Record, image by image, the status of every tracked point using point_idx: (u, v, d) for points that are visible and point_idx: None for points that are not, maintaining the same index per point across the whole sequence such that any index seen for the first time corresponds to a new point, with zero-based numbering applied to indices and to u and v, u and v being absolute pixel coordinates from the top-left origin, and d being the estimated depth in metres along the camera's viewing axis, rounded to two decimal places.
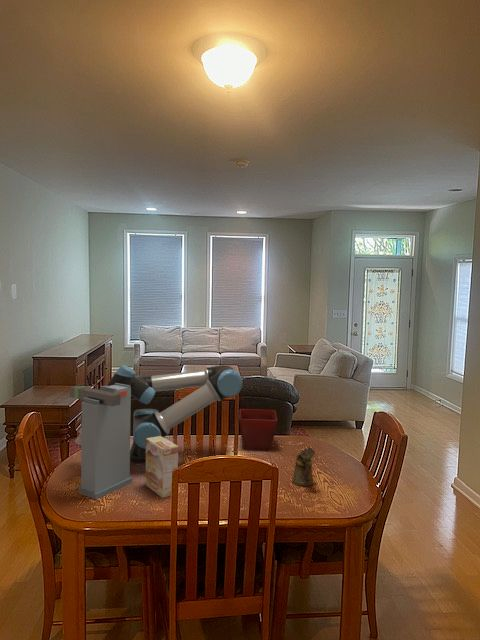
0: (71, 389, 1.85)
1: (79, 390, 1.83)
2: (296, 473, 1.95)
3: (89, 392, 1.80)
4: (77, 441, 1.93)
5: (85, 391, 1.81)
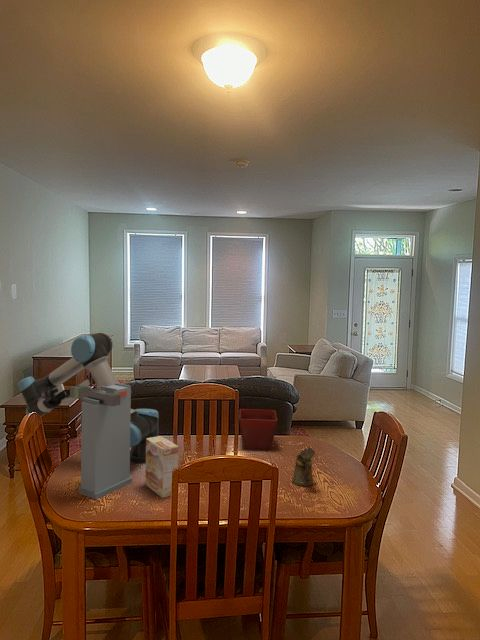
0: (71, 389, 1.85)
1: (79, 390, 1.83)
2: (296, 473, 1.95)
3: (89, 392, 1.80)
4: (61, 389, 1.98)
5: (85, 391, 1.81)
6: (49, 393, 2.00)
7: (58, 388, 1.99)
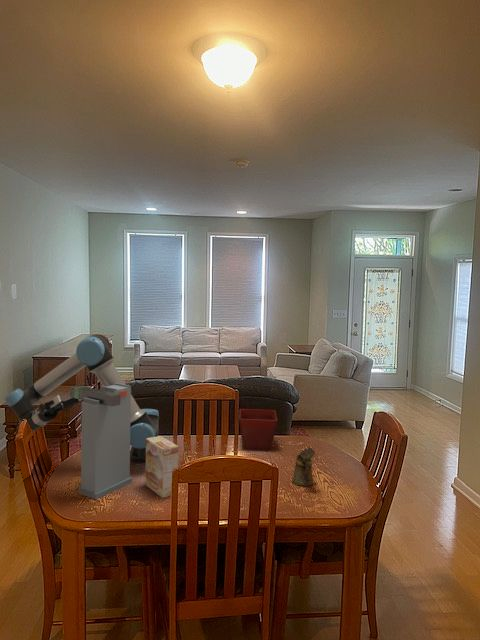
0: (71, 389, 1.85)
1: (79, 390, 1.83)
2: (296, 473, 1.95)
3: (89, 392, 1.80)
4: (57, 400, 1.81)
5: (85, 391, 1.81)
6: (44, 405, 1.83)
7: (54, 400, 1.82)
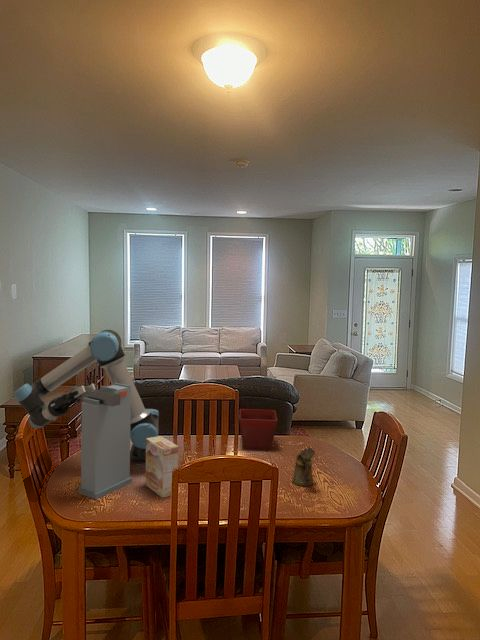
0: (71, 389, 1.85)
1: None
2: (296, 473, 1.95)
3: (89, 392, 1.80)
4: (82, 391, 1.81)
5: None
6: (68, 396, 1.82)
7: (78, 390, 1.82)
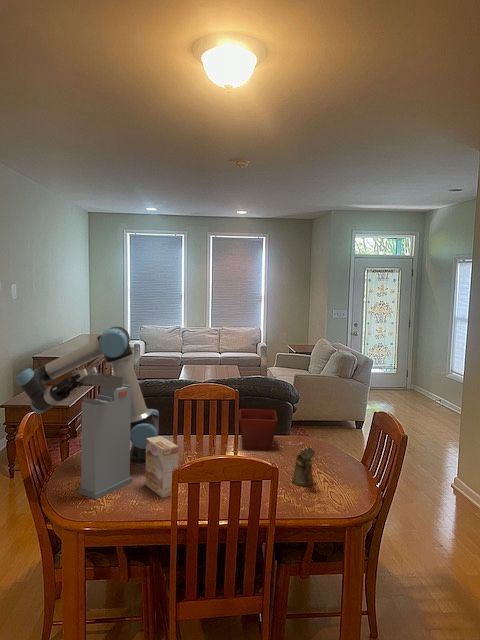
0: (73, 373, 1.86)
1: None
2: (296, 473, 1.95)
3: (91, 375, 1.80)
4: (84, 374, 1.81)
5: None
6: (70, 379, 1.83)
7: (80, 373, 1.82)
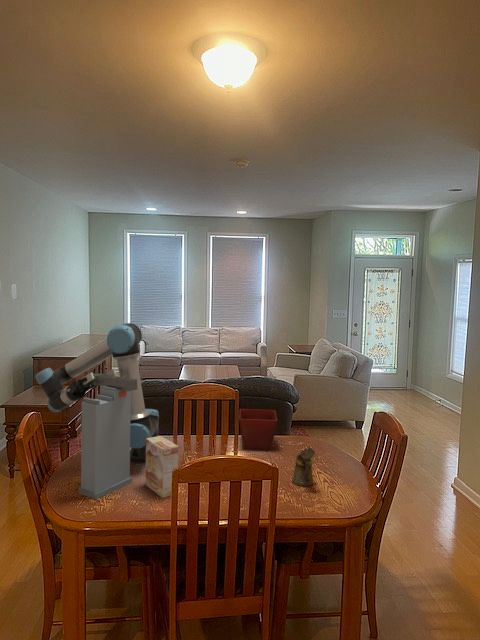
0: None
1: (97, 377, 1.90)
2: (296, 473, 1.95)
3: (107, 378, 1.87)
4: (90, 377, 1.85)
5: (103, 377, 1.88)
6: (78, 382, 1.87)
7: (87, 377, 1.87)
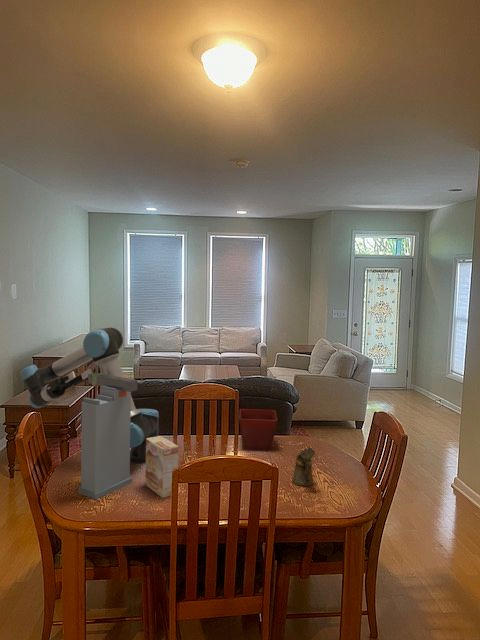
0: (89, 376, 1.93)
1: (97, 377, 1.90)
2: (296, 473, 1.95)
3: (107, 378, 1.87)
4: (72, 376, 1.94)
5: (103, 377, 1.88)
6: (60, 380, 1.96)
7: (69, 376, 1.95)
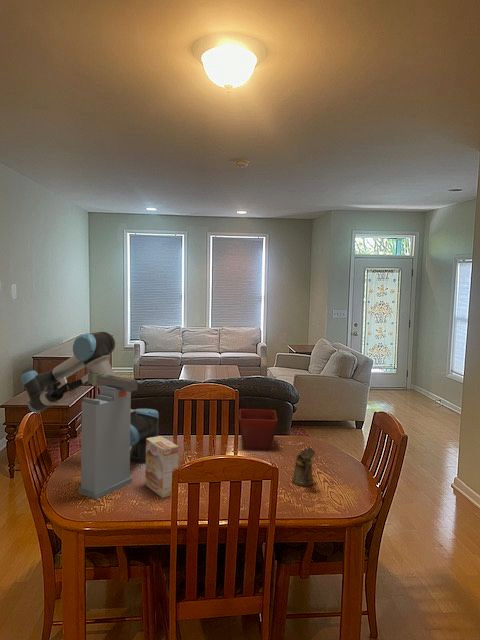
0: (89, 376, 1.93)
1: (97, 377, 1.90)
2: (296, 473, 1.95)
3: (107, 378, 1.87)
4: (64, 382, 2.01)
5: (103, 377, 1.88)
6: (52, 386, 2.03)
7: (61, 381, 2.02)
